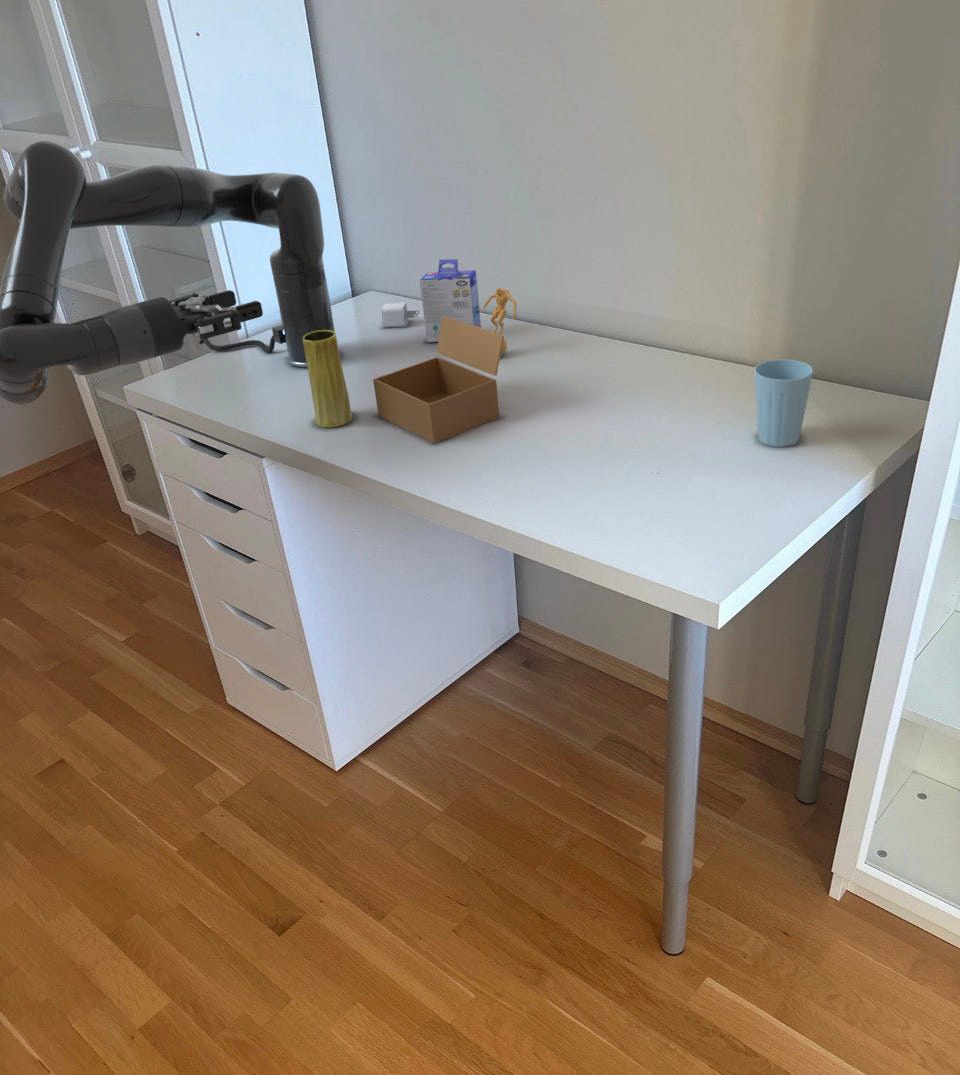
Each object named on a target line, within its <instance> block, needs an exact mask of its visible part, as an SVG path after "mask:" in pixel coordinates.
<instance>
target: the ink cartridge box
mask: <svg viewBox="0 0 960 1075" xmlns="http://www.w3.org/2000/svg"><path fill="white" fill-rule="evenodd" d="M438 261H439V262H438V269H437V270H438V271H430V272H426V273H425V274H424V275H423V276H422V277H421V279H419V285H420V293H421V303H422V312H423V319H424V320H423V321H424V327H425V337H426V343H438V342H439V336H440V330H441V325H442V319H443V316H447V317H450V318H453V319H456V320H459V321H462V322H465V323H468V324H470V325H473V326H476V327H479V328H482V322H481V311H480V302H479V290H478V279H477V278H478V277H477V271H476V270H475V269H472V270H468V269H467V270H459V262H458V261H459V259H458V258H455V259H439V260H438ZM446 264H450V265H454V266H453V267H443V266H444V265H446Z"/></svg>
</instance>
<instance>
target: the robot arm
mask: <svg viewBox="0 0 960 1075" xmlns="http://www.w3.org/2000/svg"><path fill="white" fill-rule="evenodd" d="M3 202H4V205H5V207H6V209H7V211H8V212H9V214H11V216H12V217H14V219H16V220H17V221H19V223H18V226H17V230H16V233H15V236H14V239H13V242H12V245H11V248H10V251H9V254H8V256H7V260H6V263H5V266H4V271H3V274H2V278H1V283H0V399H1V400H3V401H4V402H6V403H9V404H12V405H18V406H19V405H27V404H30V403H33V402H35V401H36V400H38V399H40V397H41V396H42V395H43V394H44V393H45V391H46V389H47V386H48V384H49V378H50V368H51V367H60V366H61V367H62V366H66V367H67V368H68V370H69V371H70V372H72V373H73V374H74V375H77V376H88V375H92V374H96V373H100V372H103V371H106V370H109V369H113V368H116V367H121V366H128V365H133V364H137V363H140V362H144V361H147V360H151V359H154V358H158V357H161V356H166V355H168V354H171V353H174V352H179V351H181V349H183V346H184V340H185V337H186V335H192V336H199V342H198V344H199V345H203V344H205V346H206V347H207V348H208V349H210V350H212V351H215V352H216V351H217V352H220V351H221V352H223V351H231V350H234V349H238V348H243V347H248V346H258V347H260V348H261V350H262V351H263V352H264V353H265V354H270V353H272V352H273V351H274V350H275V346H276V343H278V344H280V345H282V344H285V345H286V350H287V355H288V362H289V364H290V366H294V367H297V368H308V367H307V362H306V356H305V351H304V345H303V336H304V335H305V334H307V333H309V332H313V331H317V330H332V331H334V332H335V333H336V329H335V322H334V317H333V312H332V306H331V305H332V304H331V299H330V294H329V293H330V292H329V289H328V283H327V276H326V272H325V267H324V259H323V254H324V250H325V235H324V228H323V219H322V210H321V204H320V198H319V195H318V192H317V190H316V187H315V186H314V184H313V183H312V181H311V180H310V179H308V178H307V177H306V176H304V175H302V174H301V175H300V174H295V173H284V172H264V173H253V174H236V175H235V174H233V175H231V174H224V173H223V174H222V173H218V172H215V171H211V170H207V169H204V168H199V167H195V166H186V165H173V164H148V165H145V166H141V167H138V168H133V169H130V170H127V171H125V172H122V173H119V174H117V175H113V176H111V177H107V178H104V179H100V180H93V181H87V173H86V170H85V167H84V165H83V163H82V162H81V160H80V159H79V157H78V156H77V155H76V154H75V153H74V152H73V151H72V150H70V149H69V148H67V147H66V146H65V145H62V144H60V143H57V142H54V141H49V140H41V141H36V142H33V143H32V144H29V145H28V146H27V147H26V148H25V149H24V150H23V151H22V153H20V155H19V156H18V158H17V160H16V162H15V165H14V167H13V169H12V171H11V173H10V176H9V177H8V179H7V182H6V185H5V188H4V192H3ZM226 221H227V222H229V221H230V222H240V223H248V224H253V225H254V224H255V225H259V226H264V227H268V228H272V229H277V230H278V232H279V241H280V242H279V243H280V247H279V249H276V250H275V251H273V252H272V253H271V254H270V256H269V264H270V268H271V273H272V279H273V283H274V289H275V293H276V298H277V303H278V308H279V313H280V320H281V325H277V326H273V327H271V331H272V336H271V337H270V340H269V345H268V346H267V345H266V344H265V343H264V342H263V341H261V340H257V339H254V340H253V339H251V340H250V339H249V340H244V341H243V340H242V341H239V342H235V343H231V344H226V345H225V344H224V345H215V344H213V343H212V342H210V338H214V337H217V336H218V337H219V336H221V335H225V334H229V333H232V332H236V331H240V330H242V329H243V328H242V323H244V322H248V321H252V320H256V319H259V318H261V317H263V315H264V312H263V308H262V303H261V302H260V301H258V300H252V301H250V302H246V303H243V304H242V303H241V304H239V305H237V298H236V294H235V292H234V291H233V290H231V289H228V290H225V291H221V292H217V293H213V294H210V295H208V294H205V293H204V294H201V295H199V293H196V292H194V293H192V294H187V295H185V296H184V295H183V296H180V297H177V298H174V299H171V300H169V299H167V298H166V297H163V296H158V297H155V298H152V299H148V300H143V301H140V302H136V303H133V304H128V305H124V306H121V307H117V308H114V309H110V310H109V311H107V312H104V313H100V314H99V315H94V316H91V317H86V318H83V319H82V318H81V319H79V320H75V321H72V322H61V323H60V322H55V319H56V313H57V309H58V308H57V307H58V300H59V294H60V287H61V279H62V272H63V266H64V258H65V255H66V254H65V252H66V247H67V243H68V239H69V238H68V237H69V234H70V230H72V229H74V230H75V229H84V228H92V227H110V226H111V227H112V226H113V227H114V226H124V227H127V226H128V227H129V226H133V227H135V226H139V227H140V226H141V227H142V226H143V227H144V226H149V227H150V226H152V227H169V228H170V227H171V228H172V227H173V228H174V227H175V228H177V227H178V228H192V227H195V228H196V227H203V226H209V225H212V224H216V223H220V222H226ZM226 319H229V320H227V321H226Z"/></svg>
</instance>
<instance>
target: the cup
mask: <svg viewBox="0 0 960 1075" xmlns="http://www.w3.org/2000/svg"><path fill="white" fill-rule="evenodd" d="M753 373H754V387H755V388H754V390H755V404H756V420H757V422H756V423H757V434H758V435H757V436H758V440H759V442H761V443H762V444H763V445H766V446H769V447H773V448H774V447H775V448H776V447H777V448H784V447H790V446H793V445H795V444H797V443H798V442H799V440H800V438H801V432H802V427H803V422H804V418H805V412H806V408H807V403H808V397H809V393H810V389H811V385H812V384H811V383H812V378H813V374H814V368H813V367H812V365H810V364H809V363H807V362H804V361H801V360H797V359H785V358H784V359H783V358H782V359H778V358H777V359H771V360H770V359H769V360H766V361H762V362H761V363H758V364H756V365H755V367H754V369H753Z"/></svg>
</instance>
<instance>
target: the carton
mask: <svg viewBox="0 0 960 1075" xmlns="http://www.w3.org/2000/svg"><path fill="white" fill-rule="evenodd" d="M372 382H373V389H374V395H375V396H374V397H375V401H376V408H377V415H378V417H380V418H382V419H384V420H386V421H388V422H390V423H391V424H394V425H396V426H398V427H400V428H402V429H404V430H406V431H408V432H410V433H412V434H414V435H415V436H418V437H420V438H421V439H424V440H426V441H427V442H430V443H432V444H434V445H435V444H437V443H439V442H443V441H444V440H448V439H450V438H451V437H455V436H457V435H459V434H462V433H465V432H467V431H469V430H472V429H474V428H476V427H477V428H478V427H479V426H482V425H484V424H487V423H489V422H492V421H494V420H497V419H499V418H500V409H499V397H498V386H497V385H498V384H497V379H495V378H492V377H490V376H487V375H485V374H482V373H480V372H478V371H475V370H472V369H469V368H467V367H464V366H463V365H459V364H456V363H454V362H452V361H449V360H446V359H444V358H441V357H439V356H436V357H433V358H430V359H427V360H423V361H421V362H419V363H416V364H415V363H414V364H412V365H410V366H407V367H404V368H401V369H398V370H396V371H395V370H394V371H393V372H389V373H386V374H384V375H381V376H378V377H376V378H372Z"/></svg>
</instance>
